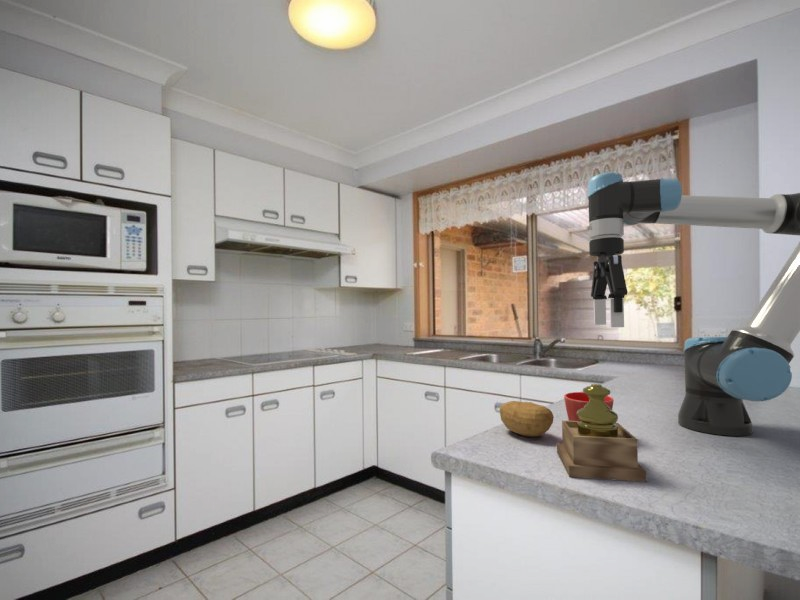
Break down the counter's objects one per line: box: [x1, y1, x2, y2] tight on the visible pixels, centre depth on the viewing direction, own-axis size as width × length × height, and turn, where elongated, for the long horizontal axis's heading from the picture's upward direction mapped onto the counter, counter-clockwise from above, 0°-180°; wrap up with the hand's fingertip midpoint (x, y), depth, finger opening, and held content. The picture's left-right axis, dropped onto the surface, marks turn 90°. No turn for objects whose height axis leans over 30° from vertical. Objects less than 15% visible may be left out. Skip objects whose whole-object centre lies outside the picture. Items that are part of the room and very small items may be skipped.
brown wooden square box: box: [556, 419, 647, 482], centre depth 81 cm, size 13×13×7 cm
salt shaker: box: [577, 383, 619, 438], centre depth 81 cm, size 7×7×10 cm
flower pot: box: [563, 391, 614, 421], centre depth 99 cm, size 11×11×10 cm
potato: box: [499, 400, 554, 438], centre depth 101 cm, size 10×14×8 cm
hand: (608, 326), depth 100 cm, fingers open, 13 cm apart
